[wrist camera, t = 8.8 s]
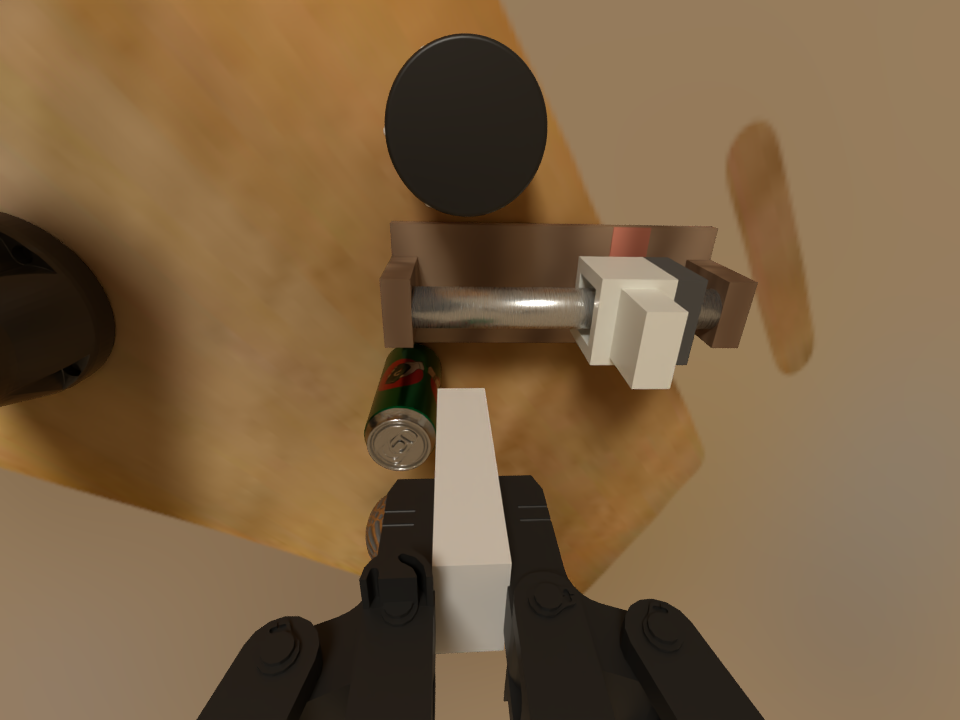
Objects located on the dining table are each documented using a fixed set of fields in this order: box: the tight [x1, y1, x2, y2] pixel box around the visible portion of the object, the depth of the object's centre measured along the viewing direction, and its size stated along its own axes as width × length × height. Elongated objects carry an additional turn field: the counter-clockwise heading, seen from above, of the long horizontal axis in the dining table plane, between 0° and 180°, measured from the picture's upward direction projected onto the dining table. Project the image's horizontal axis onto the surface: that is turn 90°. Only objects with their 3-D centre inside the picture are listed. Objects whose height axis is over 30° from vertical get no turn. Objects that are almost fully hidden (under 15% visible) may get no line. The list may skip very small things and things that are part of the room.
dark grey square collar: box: [643, 257, 708, 365], centre depth 33 cm, size 2×6×6 cm, turn 179°
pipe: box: [411, 286, 722, 329], centre depth 33 cm, size 24×3×3 cm, turn 89°
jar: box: [383, 33, 547, 217], centre depth 27 cm, size 9×8×12 cm
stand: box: [380, 221, 758, 348], centre depth 35 cm, size 26×10×8 cm, turn 89°
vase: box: [366, 495, 387, 559], centre depth 45 cm, size 7×7×9 cm
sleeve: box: [570, 256, 689, 389], centre depth 31 cm, size 5×6×11 cm
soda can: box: [364, 343, 441, 471], centre depth 36 cm, size 5×5×12 cm
